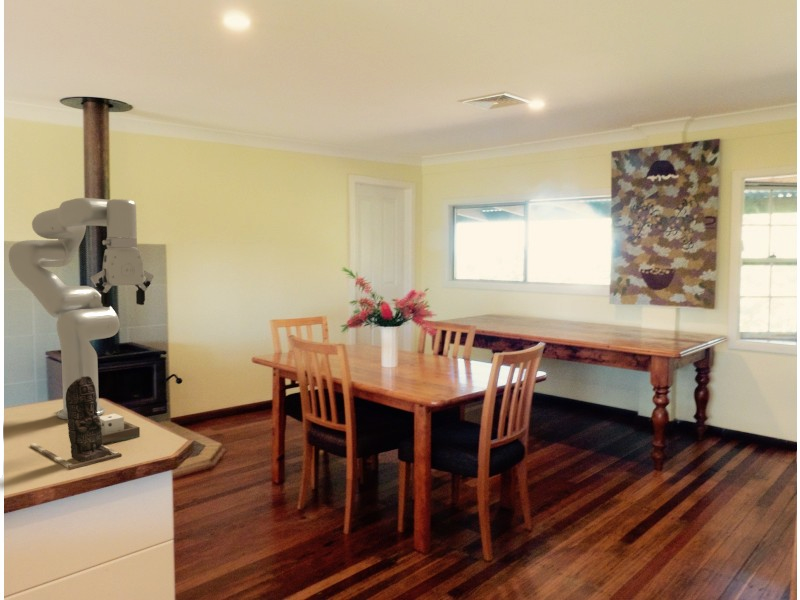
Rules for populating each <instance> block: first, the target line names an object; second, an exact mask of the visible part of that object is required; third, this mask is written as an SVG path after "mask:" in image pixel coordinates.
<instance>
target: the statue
mask: <svg viewBox="0 0 800 600" xmlns="http://www.w3.org/2000/svg"><path fill="white" fill-rule="evenodd" d="M96 398H97V396H96V390H95V386H94V383H93V382H92V379H91V377H89V376H86V377H84V376H82V377H80V378H78V379H77V380H75V381H74V382H73V383H72V384H71V385H70V386H69V387H68V389H67V392H66V408H67V413H68V414H67V416H68V419H67V429H68V430H67V431H68V439H69V443H70V453H71V458H72V459H74V460H76V461H81V462H86V461H90V460H94V459H98V458H102V457H105V456H108V455H109V454H110V453H109V449H108V448H106V447H107V446H106V447H104V446H105V445H104V446H101V445H102V439H103V436H102V432H101V426H102V424H101V422H100V415H99V416H98V415H97V401H96Z"/></svg>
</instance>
